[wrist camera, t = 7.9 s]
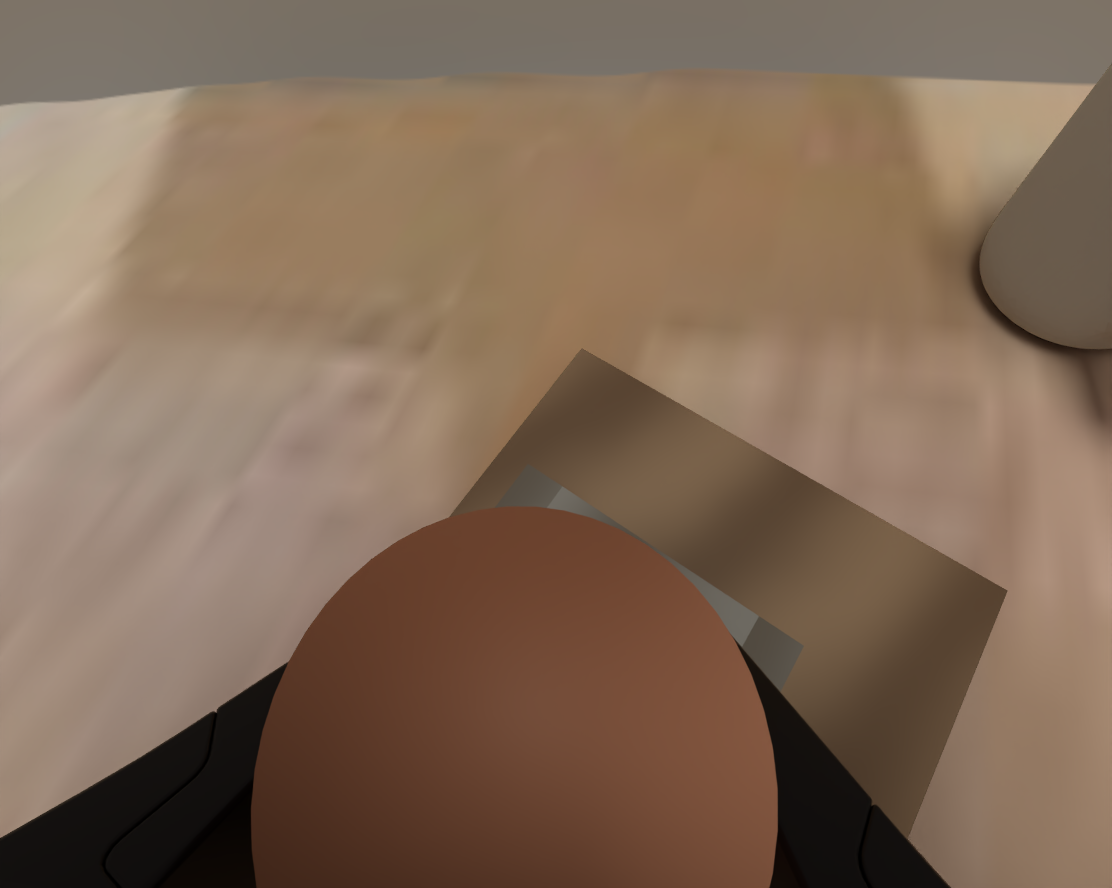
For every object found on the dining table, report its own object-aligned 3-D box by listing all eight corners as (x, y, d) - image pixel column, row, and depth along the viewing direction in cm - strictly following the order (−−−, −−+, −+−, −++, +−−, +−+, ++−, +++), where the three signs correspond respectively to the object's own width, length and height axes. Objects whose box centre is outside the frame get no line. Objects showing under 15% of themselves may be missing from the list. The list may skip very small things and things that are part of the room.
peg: (670, 713, 14) (900, 862, 4) (542, 809, 13) (388, 1305, 3) (586, 582, 15) (582, 428, 5) (465, 663, 15) (184, 671, 4)
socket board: (983, 594, 16) (1081, 578, 13) (773, 1098, 12) (838, 1253, 9) (582, 362, 20) (580, 306, 17) (327, 689, 16) (263, 697, 13)
